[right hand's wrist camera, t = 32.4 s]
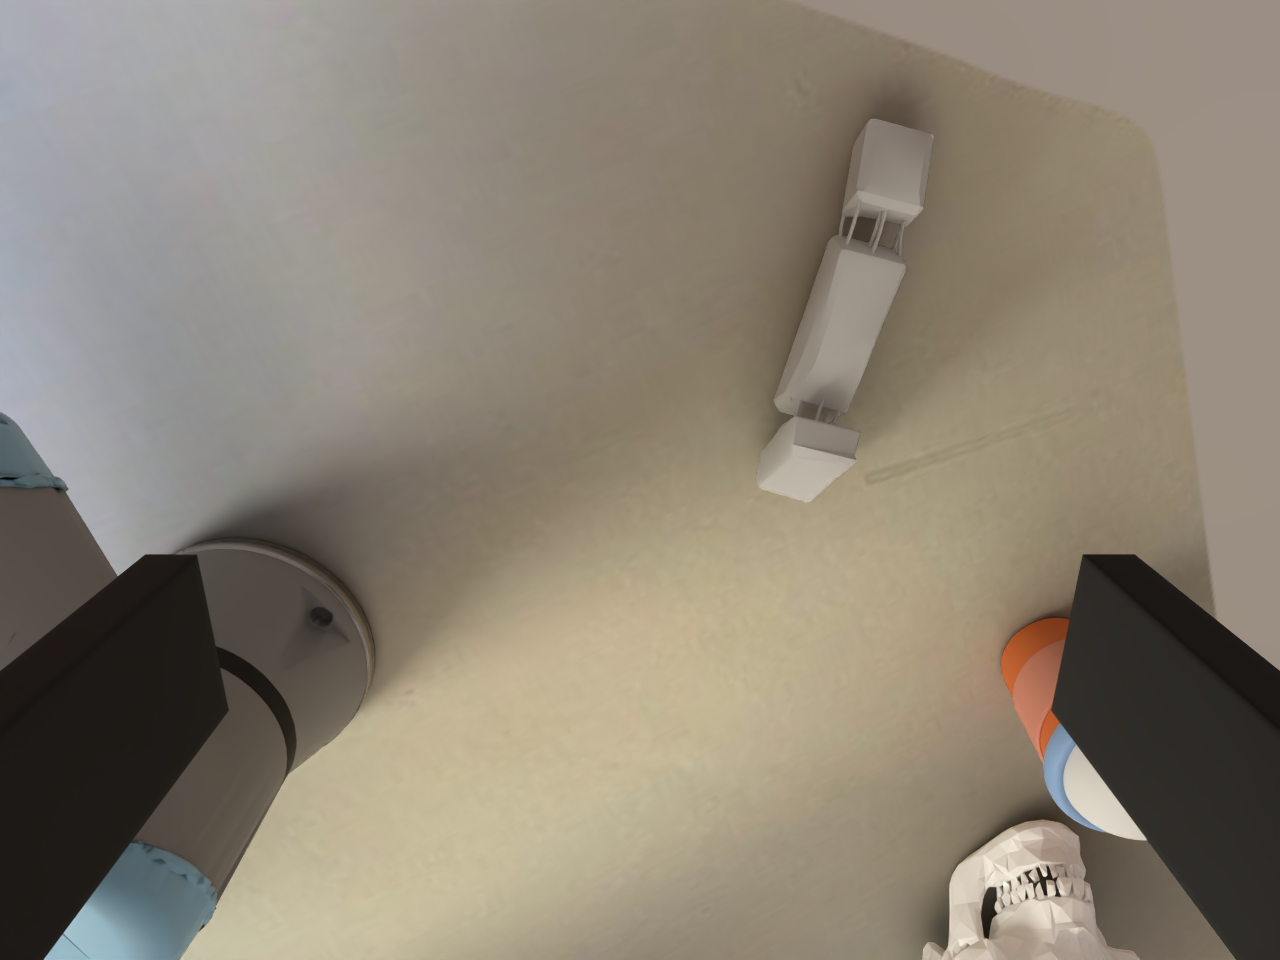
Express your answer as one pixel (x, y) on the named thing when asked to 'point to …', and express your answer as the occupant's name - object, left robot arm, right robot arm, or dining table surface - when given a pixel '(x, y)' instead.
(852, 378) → the white jointed bar
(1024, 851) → the skull
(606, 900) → the dining table surface
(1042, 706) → the cup with straw
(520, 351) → the dining table surface
